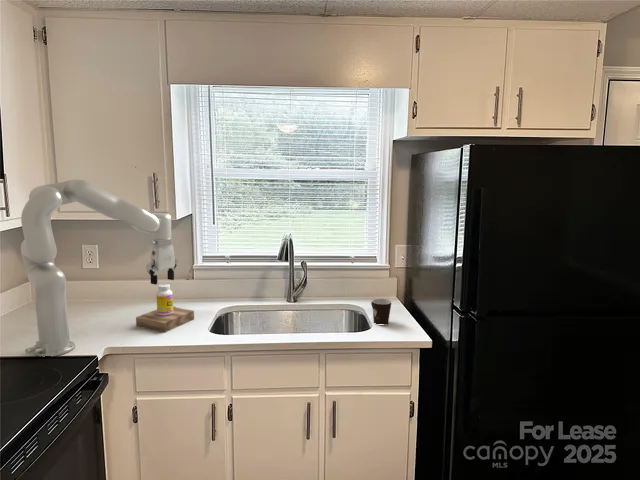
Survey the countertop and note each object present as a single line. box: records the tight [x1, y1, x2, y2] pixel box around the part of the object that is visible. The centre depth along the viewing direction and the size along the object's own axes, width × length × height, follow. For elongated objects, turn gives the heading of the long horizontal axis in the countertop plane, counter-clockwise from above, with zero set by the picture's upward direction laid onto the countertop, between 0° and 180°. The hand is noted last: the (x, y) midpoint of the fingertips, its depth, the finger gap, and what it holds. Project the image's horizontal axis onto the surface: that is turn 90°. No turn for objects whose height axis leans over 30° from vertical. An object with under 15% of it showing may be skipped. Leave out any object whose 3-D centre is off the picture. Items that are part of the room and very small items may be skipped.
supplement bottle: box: [155, 283, 174, 316], centre depth 186 cm, size 7×7×13 cm
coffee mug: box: [370, 297, 392, 325], centre depth 191 cm, size 12×9×10 cm
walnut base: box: [135, 306, 195, 333], centre depth 187 cm, size 18×16×4 cm
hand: (162, 281), depth 184 cm, fingers open, 9 cm apart
